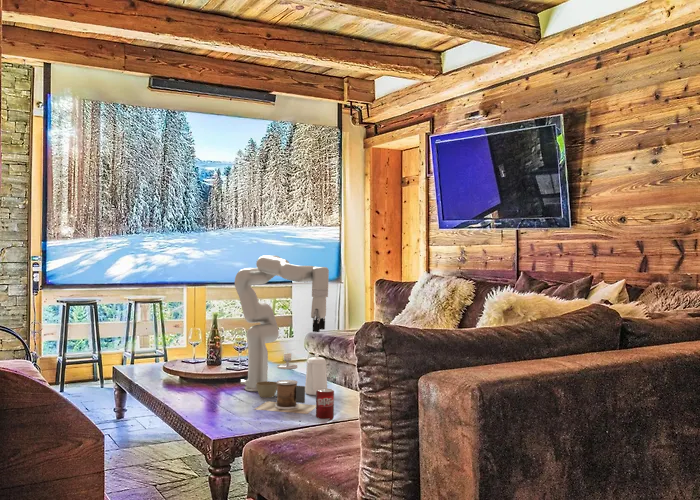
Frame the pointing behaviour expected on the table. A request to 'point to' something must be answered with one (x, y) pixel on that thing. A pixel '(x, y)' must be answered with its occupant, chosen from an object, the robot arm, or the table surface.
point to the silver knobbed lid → (287, 362)
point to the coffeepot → (315, 375)
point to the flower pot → (266, 389)
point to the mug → (289, 395)
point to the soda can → (325, 404)
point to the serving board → (301, 409)
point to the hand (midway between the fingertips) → (318, 330)
